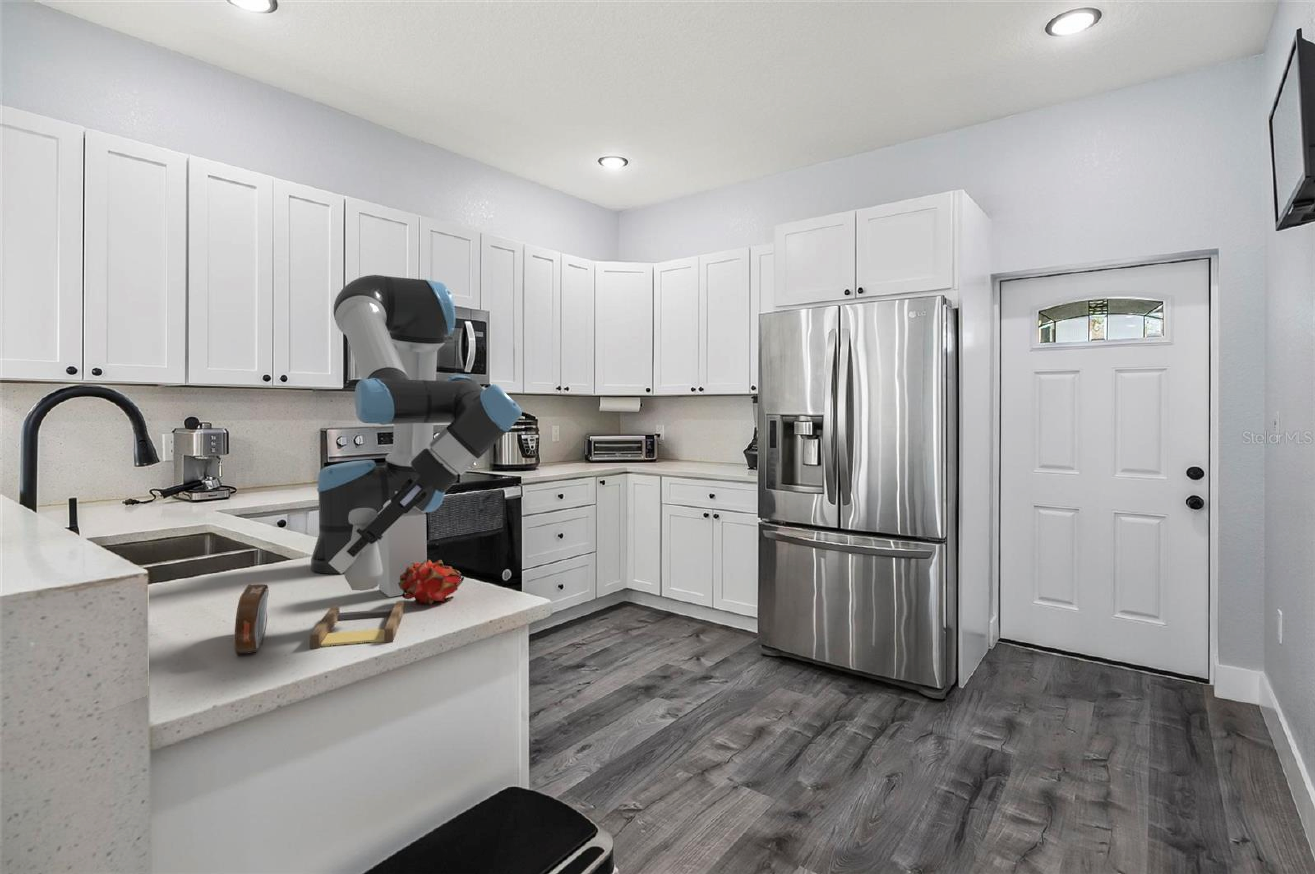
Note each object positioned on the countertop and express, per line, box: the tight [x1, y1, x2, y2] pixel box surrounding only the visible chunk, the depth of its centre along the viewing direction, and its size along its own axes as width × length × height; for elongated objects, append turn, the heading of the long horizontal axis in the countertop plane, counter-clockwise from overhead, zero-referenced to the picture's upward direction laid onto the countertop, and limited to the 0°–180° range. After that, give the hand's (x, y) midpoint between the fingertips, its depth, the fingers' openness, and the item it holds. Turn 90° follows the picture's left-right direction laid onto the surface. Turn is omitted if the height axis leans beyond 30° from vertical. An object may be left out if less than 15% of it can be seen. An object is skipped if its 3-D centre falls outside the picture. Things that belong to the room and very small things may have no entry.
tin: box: [234, 583, 269, 655], centre depth 100 cm, size 15×3×8 cm, turn 24°
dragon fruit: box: [398, 559, 465, 605], centre depth 122 cm, size 8×8×12 cm
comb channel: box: [309, 600, 405, 650], centre depth 107 cm, size 15×11×2 cm
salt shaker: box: [343, 508, 383, 592], centre depth 110 cm, size 6×6×13 cm
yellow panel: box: [320, 628, 385, 647], centre depth 103 cm, size 5×9×1 cm, turn 105°
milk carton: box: [378, 492, 428, 598], centre depth 129 cm, size 7×7×19 cm
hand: (338, 565), depth 109 cm, fingers closed on salt shaker, 3 cm apart
